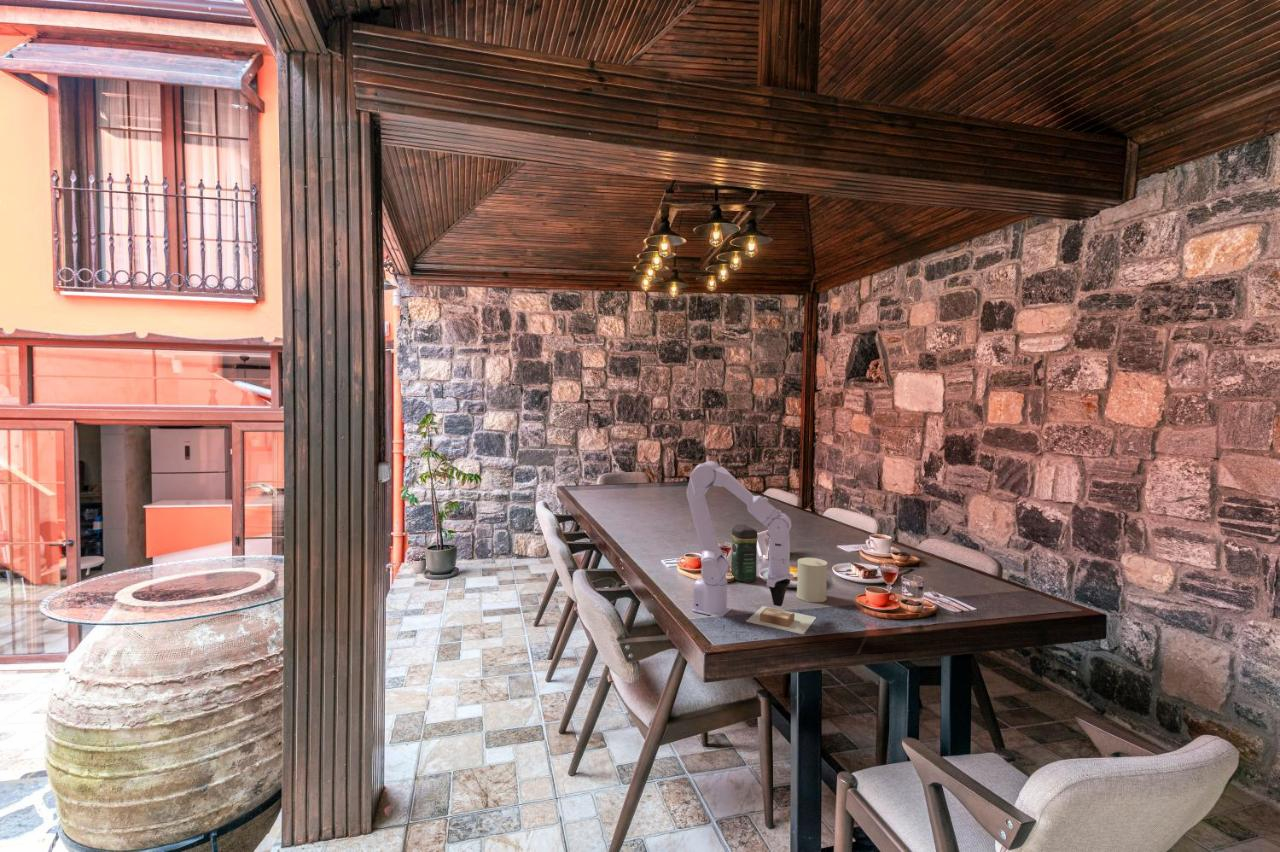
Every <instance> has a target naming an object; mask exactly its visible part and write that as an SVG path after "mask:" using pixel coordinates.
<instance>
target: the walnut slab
mask: <svg viewBox="0 0 1280 852" xmlns="http://www.w3.org/2000/svg"><path fill="white" fill-rule="evenodd" d="M766 607H767V608H766V609H765V610H764V611H762V612H761V613H760V621H763V622H767V623H772V624H776V625H781V626H785V627H789V626H790V624H791V623H792V622H793V621H794V616H795V613H796V612H794V613H792V611H789V612H787V610H784V609H780V610H778V609H779V608H775V609H773V608H774V607H770V608H768V607H769V606H766ZM783 610H784V611H783Z"/></svg>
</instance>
